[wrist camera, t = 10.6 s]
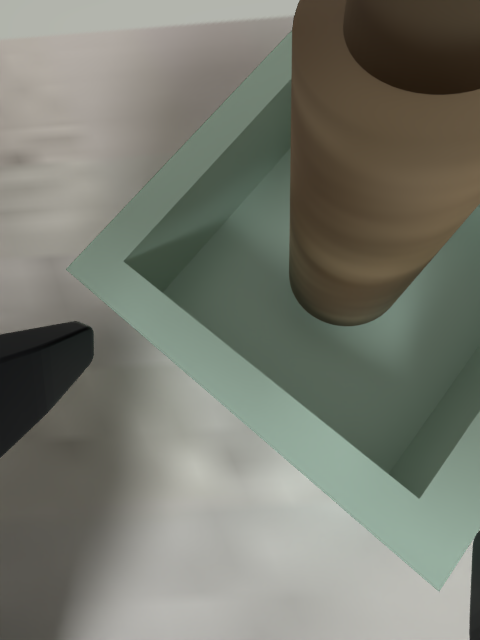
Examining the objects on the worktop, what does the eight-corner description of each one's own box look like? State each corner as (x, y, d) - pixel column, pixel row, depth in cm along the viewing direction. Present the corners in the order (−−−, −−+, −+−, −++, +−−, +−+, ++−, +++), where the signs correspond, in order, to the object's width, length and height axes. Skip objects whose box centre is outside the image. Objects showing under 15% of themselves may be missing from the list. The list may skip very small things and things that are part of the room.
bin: (594, 245, 16) (706, 178, 12) (392, 541, 14) (439, 591, 10) (309, 95, 21) (315, 5, 16) (118, 307, 18) (65, 269, 14)
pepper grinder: (424, 294, 16) (876, -141, 4) (322, 345, 16) (441, 72, 4) (364, 207, 18) (544, -310, 5) (270, 254, 18) (230, -160, 5)
